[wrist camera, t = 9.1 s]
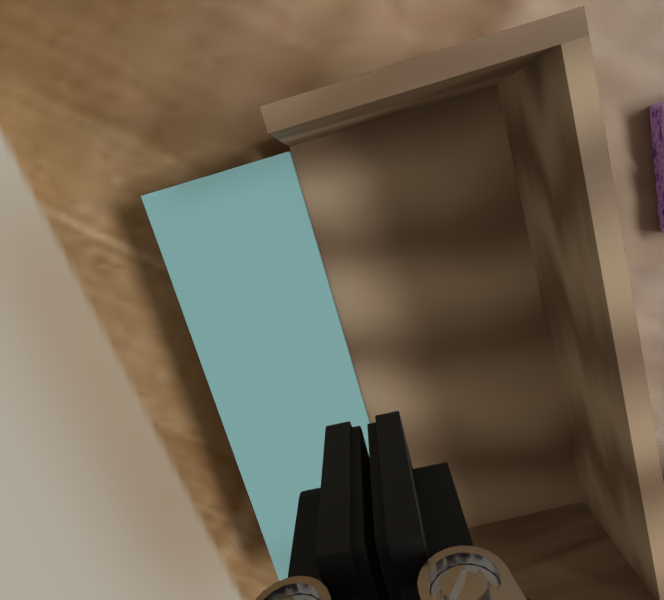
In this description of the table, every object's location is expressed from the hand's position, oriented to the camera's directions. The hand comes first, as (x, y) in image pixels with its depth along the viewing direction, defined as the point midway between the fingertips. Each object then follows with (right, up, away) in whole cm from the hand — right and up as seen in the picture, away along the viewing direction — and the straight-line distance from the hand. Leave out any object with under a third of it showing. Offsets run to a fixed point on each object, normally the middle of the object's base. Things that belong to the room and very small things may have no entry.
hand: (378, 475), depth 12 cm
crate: (+6, +2, +19) cm, 20 cm away
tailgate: (0, 0, +18) cm, 18 cm away
